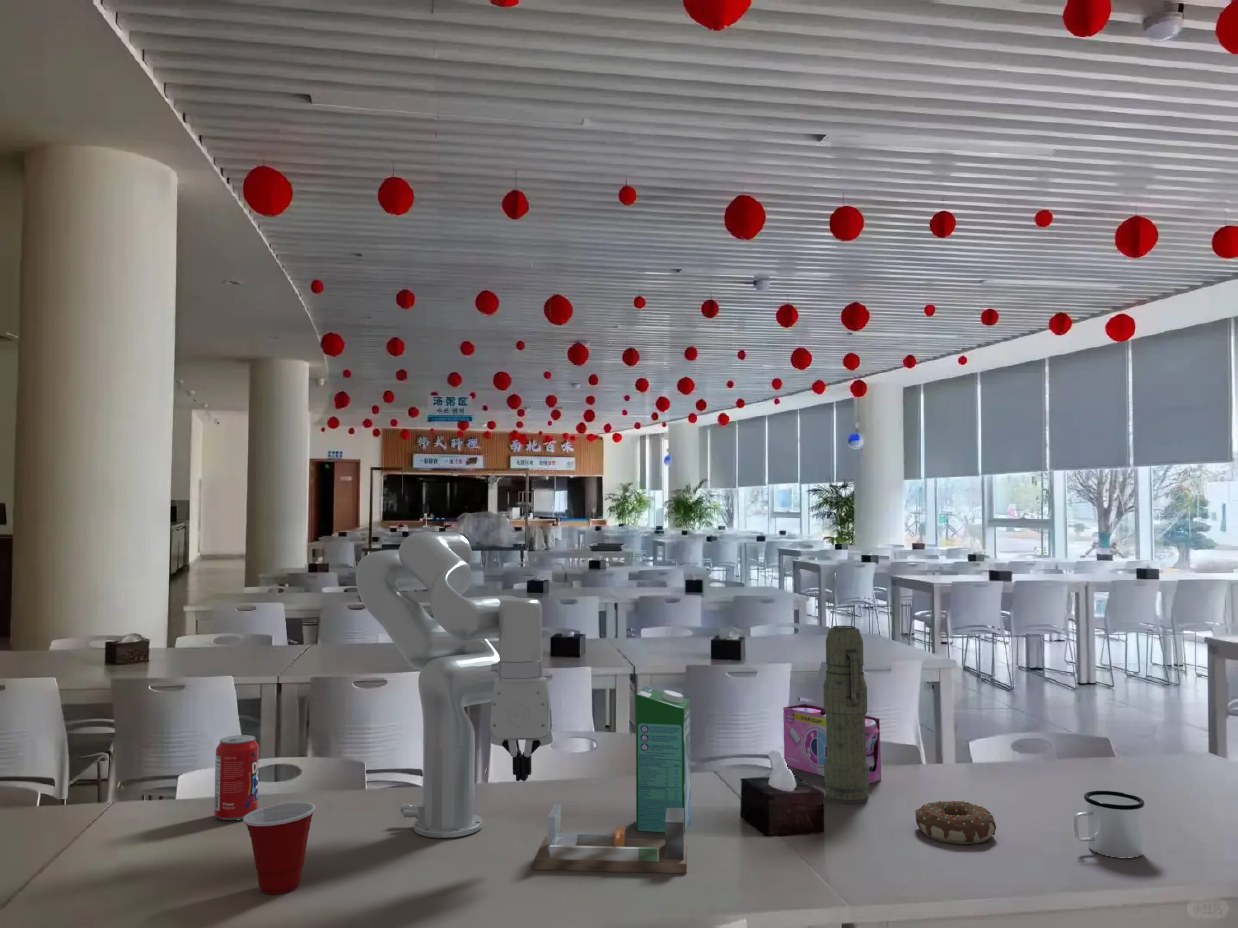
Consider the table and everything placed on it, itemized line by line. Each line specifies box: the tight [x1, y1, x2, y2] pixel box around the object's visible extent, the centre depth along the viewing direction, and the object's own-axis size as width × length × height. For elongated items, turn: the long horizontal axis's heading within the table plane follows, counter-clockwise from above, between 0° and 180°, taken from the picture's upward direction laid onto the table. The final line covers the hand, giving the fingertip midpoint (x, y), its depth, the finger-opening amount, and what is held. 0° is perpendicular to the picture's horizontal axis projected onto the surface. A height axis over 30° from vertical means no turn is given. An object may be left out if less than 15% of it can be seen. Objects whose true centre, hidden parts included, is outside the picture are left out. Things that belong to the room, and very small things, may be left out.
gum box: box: [782, 703, 882, 784], centre depth 220 cm, size 24×8×14 cm, turn 36°
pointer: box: [613, 826, 626, 847], centre depth 163 cm, size 2×7×3 cm, turn 176°
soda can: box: [213, 734, 260, 821], centre depth 189 cm, size 8×8×15 cm
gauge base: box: [533, 808, 688, 874], centre depth 165 cm, size 25×12×8 cm, turn 85°
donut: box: [914, 800, 997, 845], centre depth 177 cm, size 14×14×5 cm
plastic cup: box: [242, 801, 316, 895], centre depth 152 cm, size 11×11×12 cm
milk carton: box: [635, 686, 692, 834], centre depth 183 cm, size 9×9×25 cm
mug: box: [1073, 790, 1146, 858], centre depth 168 cm, size 12×10×9 cm
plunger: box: [547, 803, 608, 853], centre depth 165 cm, size 10×7×6 cm
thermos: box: [822, 625, 870, 805], centre depth 202 cm, size 9×12×35 cm
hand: (522, 779), depth 166 cm, fingers closed
